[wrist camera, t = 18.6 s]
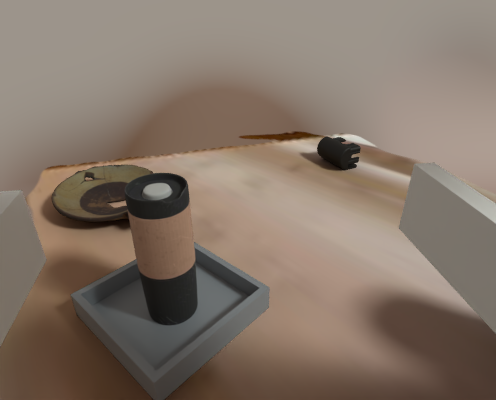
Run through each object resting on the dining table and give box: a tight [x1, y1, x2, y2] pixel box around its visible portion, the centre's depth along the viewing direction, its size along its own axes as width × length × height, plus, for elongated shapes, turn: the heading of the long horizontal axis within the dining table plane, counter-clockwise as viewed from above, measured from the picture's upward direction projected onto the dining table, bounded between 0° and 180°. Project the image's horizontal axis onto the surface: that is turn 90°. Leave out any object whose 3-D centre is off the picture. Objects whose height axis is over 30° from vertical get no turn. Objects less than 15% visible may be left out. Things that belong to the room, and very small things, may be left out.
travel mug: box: [125, 173, 198, 325], centre depth 48 cm, size 8×8×20 cm
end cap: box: [317, 137, 360, 170], centre depth 100 cm, size 10×7×7 cm
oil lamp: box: [52, 165, 154, 222], centre depth 77 cm, size 22×30×8 cm
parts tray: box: [71, 242, 269, 400], centre depth 52 cm, size 20×20×4 cm
